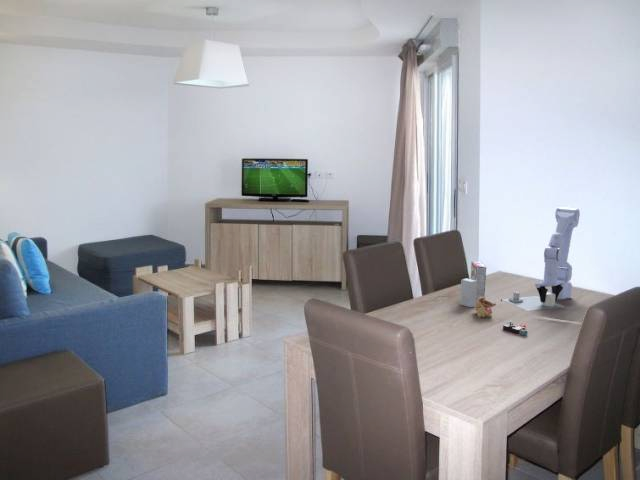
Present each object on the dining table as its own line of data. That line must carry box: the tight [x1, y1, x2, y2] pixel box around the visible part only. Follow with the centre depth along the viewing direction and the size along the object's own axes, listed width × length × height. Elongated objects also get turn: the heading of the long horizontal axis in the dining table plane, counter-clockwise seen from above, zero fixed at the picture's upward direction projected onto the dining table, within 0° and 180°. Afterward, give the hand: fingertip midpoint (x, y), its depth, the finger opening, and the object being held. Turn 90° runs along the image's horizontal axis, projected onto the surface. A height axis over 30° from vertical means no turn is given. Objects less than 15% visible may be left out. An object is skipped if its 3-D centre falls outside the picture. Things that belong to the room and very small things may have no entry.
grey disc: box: [508, 291, 523, 303], centre depth 287 cm, size 6×6×4 cm
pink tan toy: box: [473, 296, 497, 319], centre depth 267 cm, size 9×10×10 cm
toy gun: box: [502, 319, 528, 337], centre depth 248 cm, size 10×12×5 cm
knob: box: [541, 291, 556, 306], centre depth 282 cm, size 6×6×5 cm
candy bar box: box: [470, 260, 487, 300], centre depth 295 cm, size 11×5×16 cm, turn 179°
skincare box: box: [460, 278, 477, 308], centre depth 281 cm, size 6×4×12 cm
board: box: [500, 295, 565, 312], centre depth 285 cm, size 21×19×1 cm
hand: (548, 301), depth 282 cm, fingers open, 6 cm apart
